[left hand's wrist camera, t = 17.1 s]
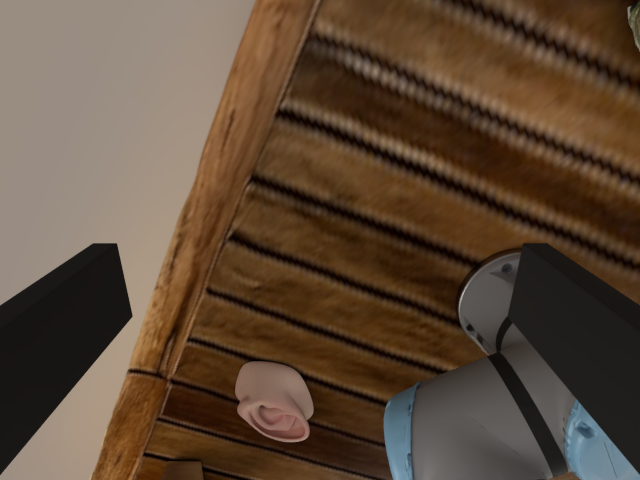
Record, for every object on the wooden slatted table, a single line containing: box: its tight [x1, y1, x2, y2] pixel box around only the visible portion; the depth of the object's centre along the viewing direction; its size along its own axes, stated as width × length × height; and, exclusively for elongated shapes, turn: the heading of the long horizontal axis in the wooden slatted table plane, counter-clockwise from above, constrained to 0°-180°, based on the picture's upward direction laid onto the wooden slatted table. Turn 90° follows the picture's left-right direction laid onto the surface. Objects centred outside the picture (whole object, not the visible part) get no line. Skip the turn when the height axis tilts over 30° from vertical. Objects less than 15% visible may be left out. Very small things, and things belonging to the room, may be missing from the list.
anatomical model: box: [235, 361, 314, 442], centre depth 56 cm, size 13×4×12 cm
